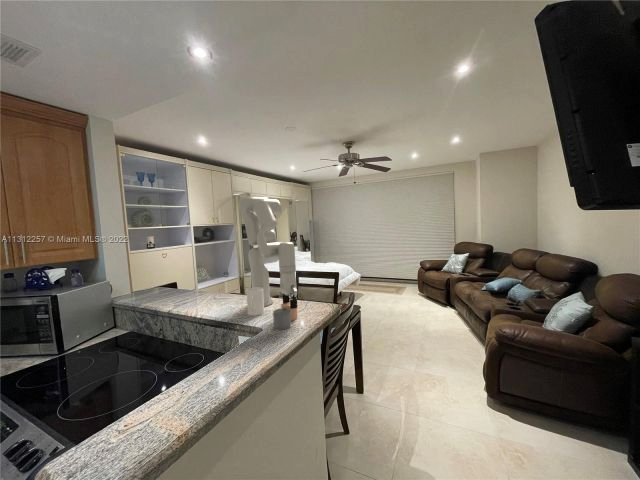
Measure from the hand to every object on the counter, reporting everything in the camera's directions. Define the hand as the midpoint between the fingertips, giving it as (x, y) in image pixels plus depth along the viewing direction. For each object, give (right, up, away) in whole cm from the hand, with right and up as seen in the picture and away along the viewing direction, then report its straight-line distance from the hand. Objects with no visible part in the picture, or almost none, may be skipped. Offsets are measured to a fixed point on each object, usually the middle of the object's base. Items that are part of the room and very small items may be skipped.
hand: (290, 305), depth 117 cm
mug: (-18, -6, +9) cm, 21 cm away
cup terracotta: (0, -6, +1) cm, 6 cm away
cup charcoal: (-2, -7, -8) cm, 11 cm away
